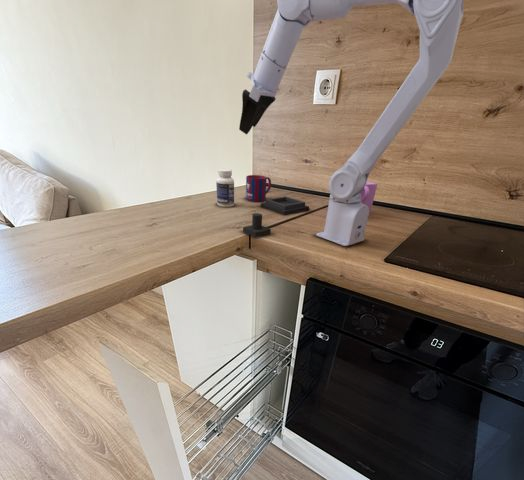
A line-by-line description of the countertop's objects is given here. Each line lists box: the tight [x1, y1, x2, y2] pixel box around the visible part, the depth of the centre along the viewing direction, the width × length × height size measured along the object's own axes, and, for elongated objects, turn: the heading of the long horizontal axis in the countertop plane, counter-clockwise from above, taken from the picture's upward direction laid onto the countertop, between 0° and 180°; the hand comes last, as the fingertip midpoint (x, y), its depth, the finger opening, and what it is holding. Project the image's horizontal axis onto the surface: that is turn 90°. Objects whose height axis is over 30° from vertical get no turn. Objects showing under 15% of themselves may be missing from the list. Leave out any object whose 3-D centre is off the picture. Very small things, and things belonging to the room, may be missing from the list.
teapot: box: [329, 180, 378, 213], centre depth 93 cm, size 18×14×10 cm
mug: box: [245, 174, 272, 203], centre depth 103 cm, size 7×10×7 cm
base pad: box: [260, 195, 310, 216], centre depth 96 cm, size 11×11×2 cm
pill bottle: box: [215, 168, 235, 208], centre depth 93 cm, size 5×5×10 cm
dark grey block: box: [242, 212, 272, 238], centre depth 75 cm, size 5×5×4 cm
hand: (247, 128), depth 73 cm, fingers open, 7 cm apart
